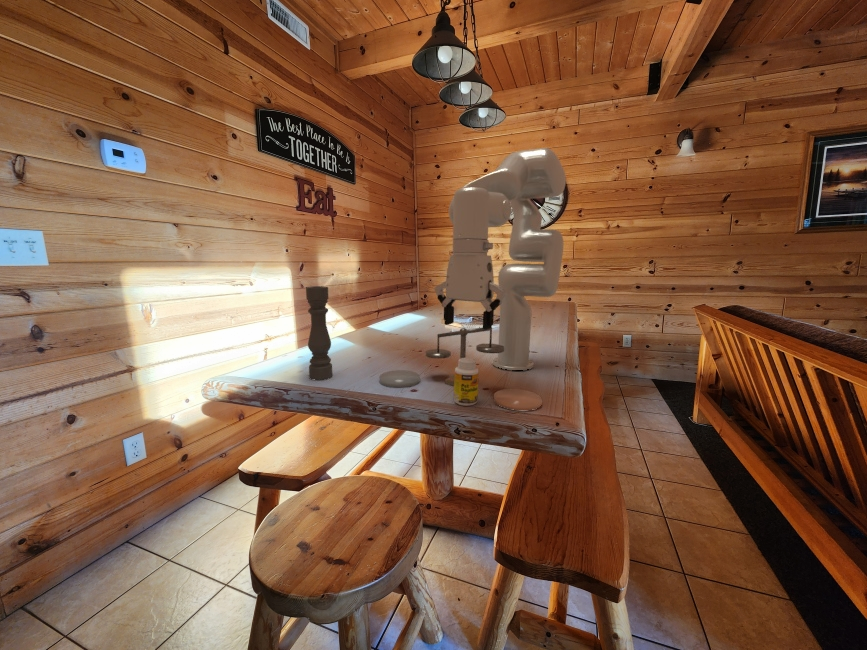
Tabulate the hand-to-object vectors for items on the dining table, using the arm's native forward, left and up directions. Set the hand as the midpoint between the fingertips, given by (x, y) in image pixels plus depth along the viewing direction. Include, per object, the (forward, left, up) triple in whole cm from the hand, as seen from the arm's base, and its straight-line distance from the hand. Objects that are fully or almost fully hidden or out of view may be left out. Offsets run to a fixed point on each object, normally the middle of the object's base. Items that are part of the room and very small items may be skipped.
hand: (467, 326), depth 83 cm
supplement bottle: (0, 0, -18) cm, 18 cm away
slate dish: (-3, -22, -18) cm, 29 cm away
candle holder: (+7, -42, -18) cm, 46 cm away
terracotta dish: (-7, +10, -18) cm, 22 cm away
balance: (-11, -7, -18) cm, 22 cm away
